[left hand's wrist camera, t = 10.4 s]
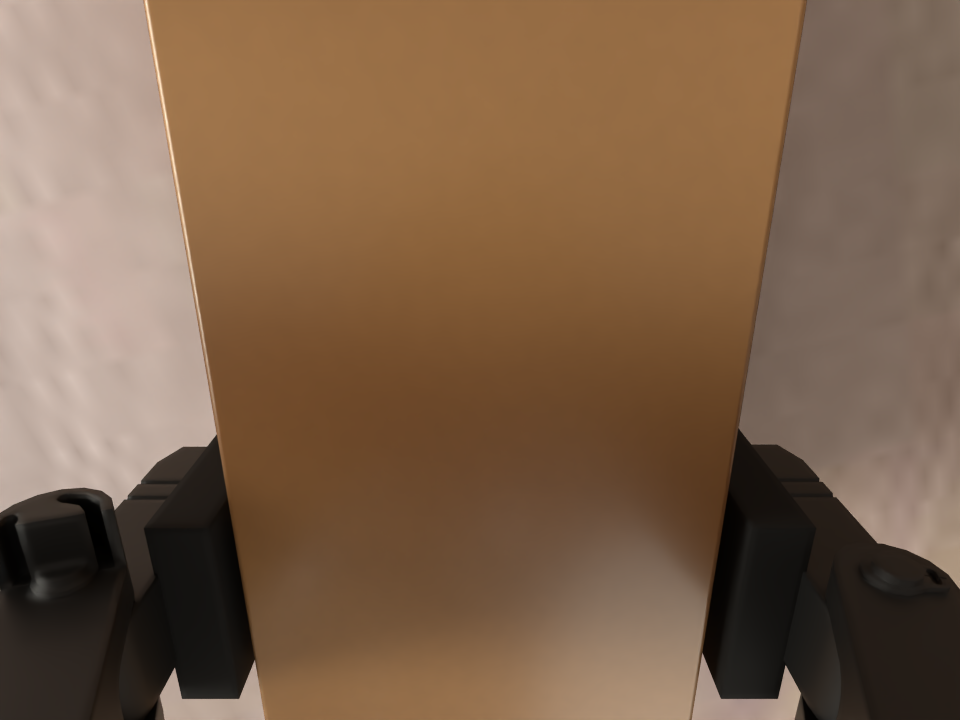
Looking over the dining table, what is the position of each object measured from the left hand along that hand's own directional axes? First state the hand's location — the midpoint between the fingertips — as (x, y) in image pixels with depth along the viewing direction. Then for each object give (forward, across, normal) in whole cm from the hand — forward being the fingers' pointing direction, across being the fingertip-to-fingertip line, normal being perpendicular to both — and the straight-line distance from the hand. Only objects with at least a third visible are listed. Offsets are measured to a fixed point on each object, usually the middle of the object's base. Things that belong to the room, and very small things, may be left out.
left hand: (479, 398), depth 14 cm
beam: (+2, 0, -25) cm, 25 cm away
